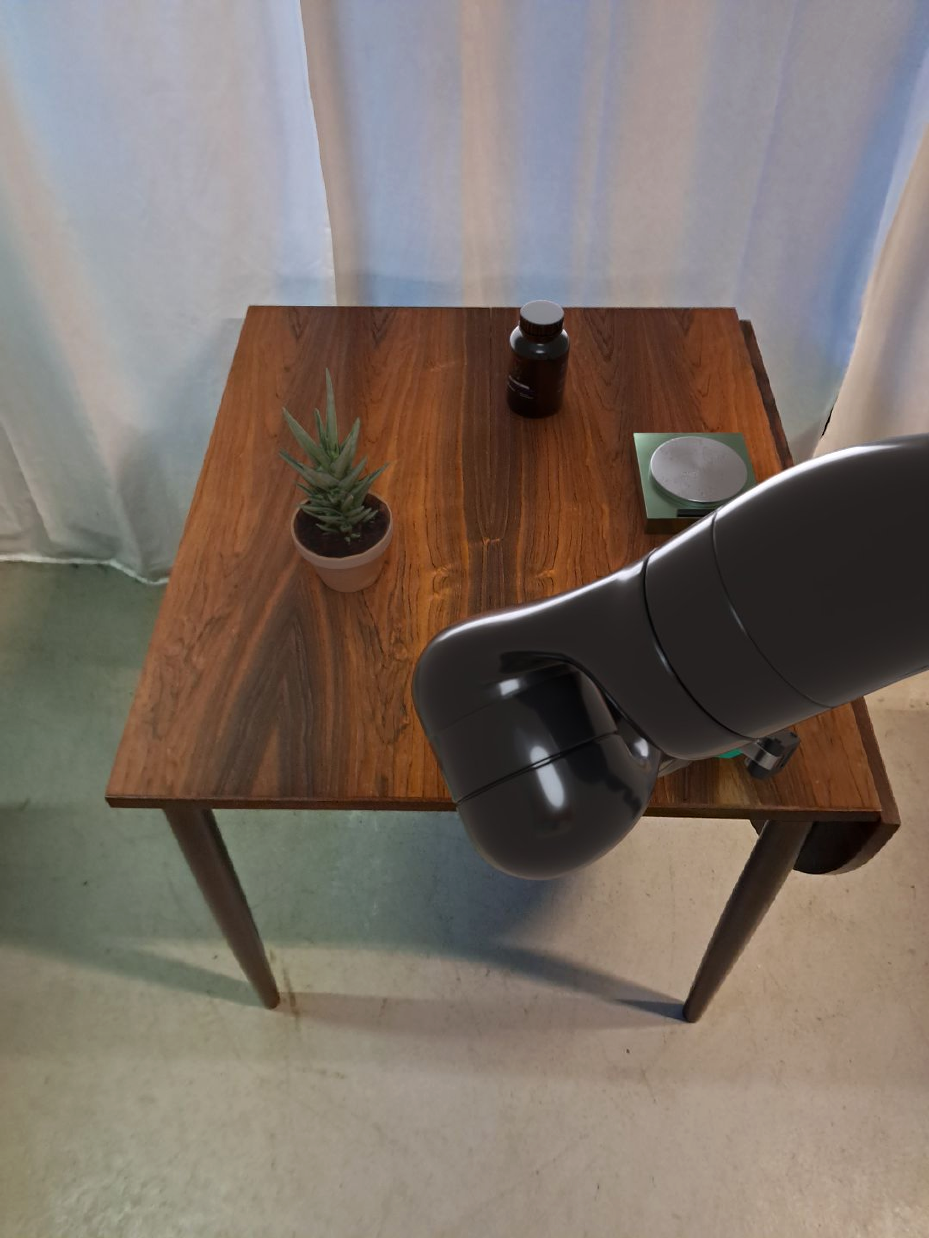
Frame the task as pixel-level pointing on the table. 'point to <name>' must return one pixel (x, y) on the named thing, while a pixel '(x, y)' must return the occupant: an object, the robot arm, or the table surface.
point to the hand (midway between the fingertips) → (711, 689)
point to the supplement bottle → (538, 360)
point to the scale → (687, 476)
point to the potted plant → (338, 507)
